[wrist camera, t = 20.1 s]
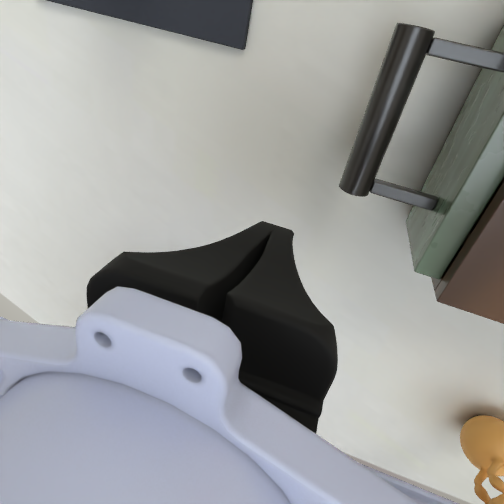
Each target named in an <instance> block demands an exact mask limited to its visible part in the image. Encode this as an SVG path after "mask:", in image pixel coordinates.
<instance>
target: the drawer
mask: <svg viewBox="0 0 504 504" xmlns="http://www.w3.org/2000/svg"><path fill="white" fill-rule="evenodd" d="M434 34H435V31H433V30H431V29H427V28H423V27H419V26H415V25H410V24H404V23H397V24H396V27H395V29H394V32H393V35H392V38H391V41H390V43H389V46H388V49H387V52H386V55H385V58H384V60H383V63H382V66H381V69H380V72H379V74H378V77H377V80H376V83H375V86H374V88H373V91H372V94H371V97H370V100H369V102H368V105H367V108H366V111H365V114H364V116H363V119H362V122H361V125H360V128H359V130H358V133H357V136H356V139H355V142H354V145H353V147H352V150H351V153H350V156H349V159H348V161H347V164H346V167H345V170H344V173H343V175H342V178H341V181H340V184H339V187H340V188H341V189H342V190H343V191H345V192H347V193H349V194H351V195H355V196H367V195H368V194H369V191H370V192H371V193H373V194H377V195H380V196H383V197H387V198H390V199H393V200H397V201H400V202H403V203H407V204H410V205H414V206H413V208H412V210H411V212H410V214H409V216H408V218H407V220H406V224H407V230H408V236H409V242H410V248H411V254H412V260H413V266H414V271H415V272H417V273H420V274H424V275H427V276H430V277H433V278H436V279H440V278H441V277H442V275H443V273H444V272H445V270H446V269H447V267H448V265H449V264H450V262H451V261H452V259H453V257H454V256H455V254H456V253H457V251H458V249H459V248H460V246H461V245H462V243H463V245H464V244H465V243H466V241H467V239H468V238H469V236H470V235H471V233H472V232H473V230H474V228H475V227H476V225H477V224H478V222H479V220H480V219H481V217H482V216H483V214H484V212H485V211H486V209H487V208H488V206H489V205H490V203H491V201H492V200H493V198H494V197H495V195H496V193H497V192H498V190H499V189H500V187H501V186H502V184H503V182H504V26H503V28H502V30H501V32H500V34H499V36H498V38H497V40H496V42H495V44H494V46H493V48H492V50H488V49H484V48H479V47H475V46H470V45H466V44H461V43H457V42H453V41H448V40H444V39H439V38H433V36H434ZM426 55H430V56H434V57H438V58H442V59H447V60H451V61H455V62H459V63H464V64H468V65H472V66H477V67H481V68H482V70H481V72H480V74H479V76H478V78H477V80H476V82H475V84H474V86H473V88H472V90H471V92H470V94H469V96H468V98H467V100H466V102H465V104H464V106H463V108H462V110H461V112H460V114H459V116H458V118H457V120H456V122H455V124H454V126H453V128H452V130H451V132H450V134H449V136H448V138H447V140H446V142H445V144H444V146H443V148H442V150H441V152H440V154H439V156H438V158H437V160H436V162H435V164H434V166H433V168H432V170H431V172H430V174H429V176H428V178H427V180H426V182H425V184H424V186H423V188H422V190H421V192H420V191H417V190H413V189H410V188H406V187H403V186H400V185H396V184H393V183H389V182H386V181H383V180H379V179H375V177H376V174H377V172H378V170H379V167H380V165H381V162H382V160H383V157H384V155H385V153H386V150H387V148H388V145H389V143H390V140H391V138H392V136H393V133H394V131H395V128H396V126H397V123H398V121H399V119H400V116H401V114H402V111H403V109H404V106H405V104H406V102H407V99H408V97H409V94H410V92H411V90H412V87H413V85H414V82H415V80H416V77H417V75H418V73H419V70H420V68H421V65H422V63H423V60H424V58H425V56H426Z"/></svg>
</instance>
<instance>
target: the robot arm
mask: <svg viewBox="0 0 504 504" xmlns="http://www.w3.org/2000/svg"><path fill="white" fill-rule="evenodd" d="M293 236H294V233H293V231H292V230H289V229H286V228H283V227H280V226H276V225H273V224H270V223H267V222H264V221H261V222H259V223H257V224H255V225H253V226H251V227H249V228H248V229H246V230H244V231H242V232H240V233H237V234H235V235H233V236H231V237H228V238H226V239H223V240H221V241H218V242H215V243H212V244H209V245H205V246H201V247H197V248H191V249H185V250H179V251H171V252H156V253H142V252H123V253H121V254H120V255H119V256H117V257H116V258H115V259H113V260H112V261H111V262H110V263H108V264H107V265H106V266H105V267H103V268H102V269H101V270H100V271H99V272H97V273H96V274H95V275H94V276H93V277H92V278H91V279H90V281H89V283H88V285H87V304H88V309H87V310H86V311H85V312H84V313H83V314H82V315H80V316H79V317H78V319H77V323H76V327H67V326H58V325H48V324H38V323H28V322H19V321H10V320H7V319H5V318H3V317H0V504H458V503H456V502H454V501H451V500H449V499H446V498H444V497H441V496H439V495H436V494H434V493H432V492H429V491H426V490H424V489H422V488H419V487H417V486H414V485H412V484H409V483H407V482H405V481H402V480H400V479H397V478H395V477H392V476H390V475H387V474H385V473H382V472H380V471H377V470H375V469H372V468H370V467H368V466H365V465H363V464H360V463H358V462H357V461H355V460H354V459H352V458H351V457H349V456H348V455H346V454H345V453H343V452H342V451H340V450H339V449H337V448H336V447H334V446H333V445H332V444H330V443H329V442H327V441H326V440H324V439H323V438H321V437H320V436H318V435H317V434H316V431H317V424H318V418H319V417H320V415H321V412H322V406H323V400H324V398H325V396H326V394H327V392H328V390H329V388H330V386H331V384H332V382H333V380H334V378H335V375H336V371H337V363H338V359H337V343H336V336H335V330H334V326H333V325H332V324H331V323H330V322H329V321H328V320H327V319H326V318H325V317H324V316H323V315H322V314H321V313H320V311H319V310H318V309H317V308H316V306H315V305H314V304H313V303H312V301H311V299H310V298H309V296H308V295H307V293H306V291H305V289H304V287H303V285H302V283H301V280H300V278H299V275H298V272H297V268H296V265H295V260H294V255H293V246H292V240H293Z"/></svg>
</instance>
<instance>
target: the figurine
mask: <svg viewBox="0 0 504 504" xmlns="http://www.w3.org/2000/svg"><path fill="white" fill-rule="evenodd" d="M460 442H461V447H462V449H463V452H464V453H465V455H466V457H467V458H468V459H469V461H470V462H471V463H472V464H473V465H474V466H476V467H477V468H478V469H480V471H479V473H478V475H477V476H476V477H475V479H474V483H475V488H474V490H475V493H476V495H477V496H478V497H479V498H480V499H481V500H482V501H484V502H485V504H504V482H503V481H502V480H501V479H500V478H499V477H497V476H504V421H502V420H500V419H498V418H495V417H492V416H486V415H481V416H476V417H473V418H471V419H469V420H468V421H467V422H466V423H465V424H464V425H463V427H462V429H461V433H460ZM487 477H489V481H490V483H491V485H492V486H493V487H494V488H496V489H497V490H499V491H500V492H502V493H503V494H501V495H499V496H498V497H496V498H492V499H491V498H490V497H489V495H488V493H487V491H486V490H485V489H484V488H483V487H482V485H481V484H482V482H483V481H484V480H485V479H486V478H487Z"/></svg>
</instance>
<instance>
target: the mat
mask: <svg viewBox="0 0 504 504" xmlns="http://www.w3.org/2000/svg"><path fill="white" fill-rule="evenodd" d="M47 1H51V2H55V3H59V4H63V5H67V6H71V7H75V8H79V9H83V10H87V11H91V12H95V13H99V14H103V15H107V16H111V17H115V18H119V19H123V20H127V21H131V22H135V23H139V24H143V25H147V26H151V27H155V28H159V29H163V30H167V31H171V32H175V33H179V34H183V35H187V36H191V37H195V38H199V39H203V40H206V41H210V42H214V43H218V44H222V45H226V46H230V47H234V48H238V49H242V50H244V49H245V46H246V40H247V34H248V27H249V21H250V15H251V9H252V3H253V0H47Z"/></svg>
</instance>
